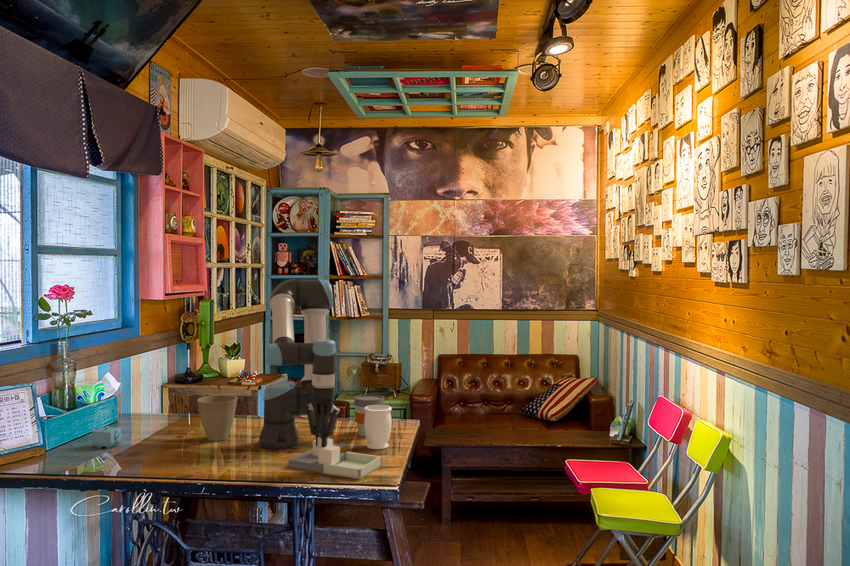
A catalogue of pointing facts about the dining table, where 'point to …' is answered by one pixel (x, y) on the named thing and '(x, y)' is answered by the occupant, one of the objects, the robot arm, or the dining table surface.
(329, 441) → the block
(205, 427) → the plant pot
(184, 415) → the dining table surface
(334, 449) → the block
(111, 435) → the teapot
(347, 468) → the tray
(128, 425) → the dining table surface
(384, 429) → the jar
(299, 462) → the board
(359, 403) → the reusable coffee cup
